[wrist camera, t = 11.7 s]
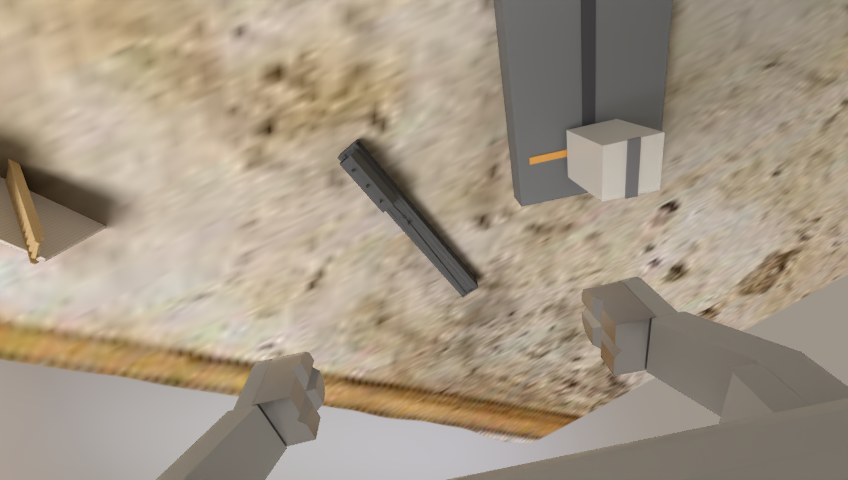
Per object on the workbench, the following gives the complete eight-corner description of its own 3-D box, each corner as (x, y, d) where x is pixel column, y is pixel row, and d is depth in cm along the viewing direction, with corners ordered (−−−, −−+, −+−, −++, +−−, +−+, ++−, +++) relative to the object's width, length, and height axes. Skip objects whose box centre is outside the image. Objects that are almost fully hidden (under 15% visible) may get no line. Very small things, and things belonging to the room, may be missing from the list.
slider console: (483, -100, 25) (491, -117, 22) (660, -147, 24) (688, -170, 21) (514, 196, 34) (522, 207, 32) (640, 169, 34) (658, 178, 31)
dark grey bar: (479, 272, 39) (487, 296, 35) (460, 285, 39) (465, 310, 36) (362, 133, 32) (356, 144, 28) (341, 152, 32) (331, 164, 28)
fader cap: (566, 129, 29) (603, 145, 23) (616, 118, 28) (666, 131, 23) (567, 177, 31) (603, 203, 25) (615, 167, 30) (660, 191, 25)
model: (-17, 135, 30) (-141, 156, 24) (116, 200, 33) (41, 236, 27) (-22, 166, 32) (-142, 195, 25) (108, 226, 35) (33, 267, 28)
